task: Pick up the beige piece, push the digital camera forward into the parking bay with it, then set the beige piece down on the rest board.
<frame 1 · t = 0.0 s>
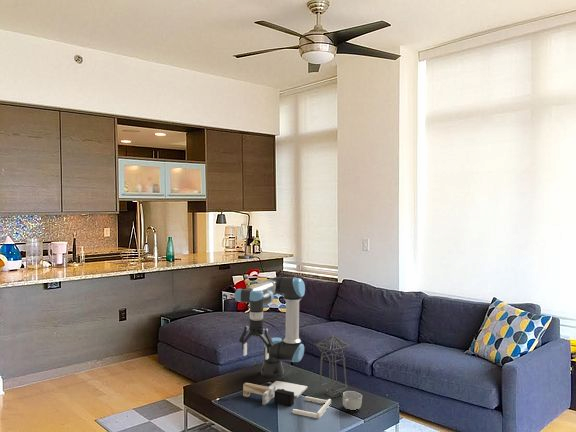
hand: (256, 356, 267), 28 cm above the table, tool pointing down, fingers open, 13 cm apart
rest board: (286, 389, 293), on the table
parking bay: (311, 408, 267), on the table
teacup: (350, 409, 266), on the table
geometric lantern: (332, 394, 287), on the table
beige piece: (256, 397, 281), on the table
digital camera: (284, 403, 273), on the table
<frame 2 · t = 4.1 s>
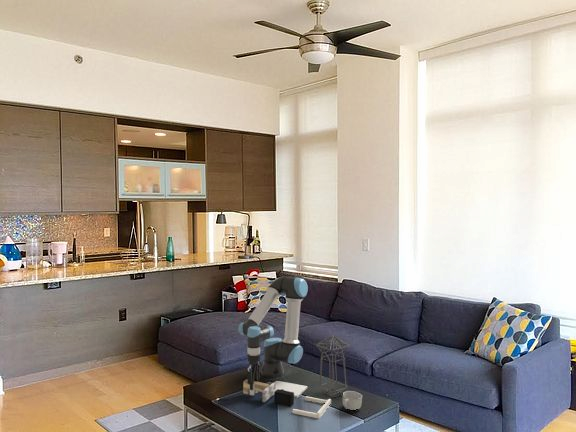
hand: (253, 393, 281), 2 cm above the table, tool pointing down, fingers closed on beige piece, 3 cm apart
beige piece: (256, 394, 281), point 2 cm above the table, touching gripper
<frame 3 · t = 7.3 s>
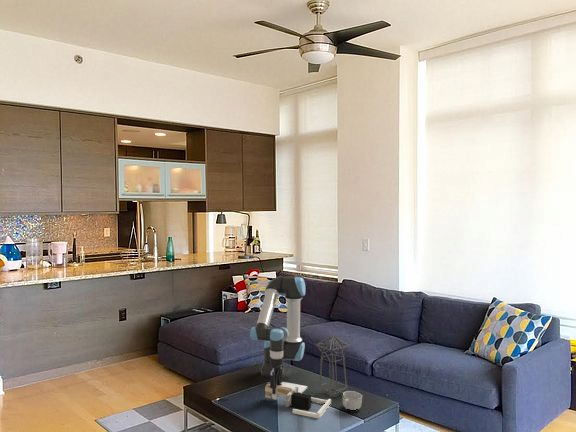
hand: (275, 397, 275), 2 cm above the table, tool pointing down, fingers closed on beige piece, 3 cm apart
beige piece: (279, 399, 275), point 2 cm above the table, touching digital camera, gripper
digital camera: (301, 407, 269), on the table, touching beige piece
everything else where it was.
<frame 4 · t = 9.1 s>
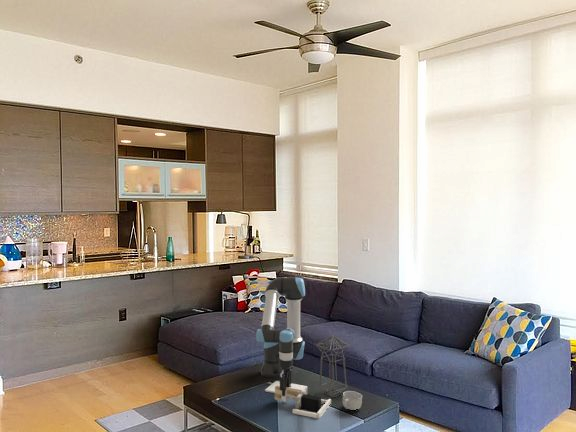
hand: (285, 399, 273), 2 cm above the table, tool pointing down, fingers closed on beige piece, 3 cm apart
beige piece: (288, 401, 272), point 2 cm above the table, touching gripper
digital camera: (311, 409, 266), on the table
everything else where it was.
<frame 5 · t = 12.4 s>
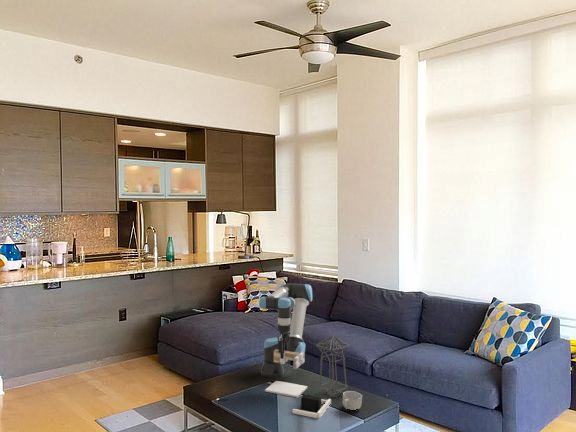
hand: (283, 362, 293), 16 cm above the table, tool pointing down, fingers closed on beige piece, 3 cm apart
beige piece: (286, 363, 292), point 16 cm above the table, touching gripper
when the fingers open (2 cm above the table, at t = 15.3 s): beige piece stays where it is, resting on rest board.
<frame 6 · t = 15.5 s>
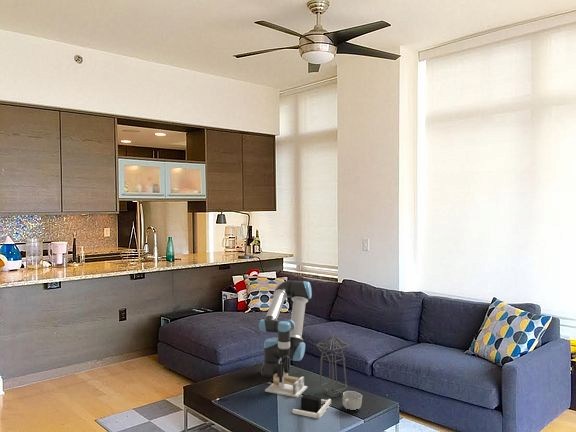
hand: (283, 385, 293), 2 cm above the table, tool pointing down, fingers open, 6 cm apart
beige piece: (286, 387, 293), point 1 cm above the table, touching rest board
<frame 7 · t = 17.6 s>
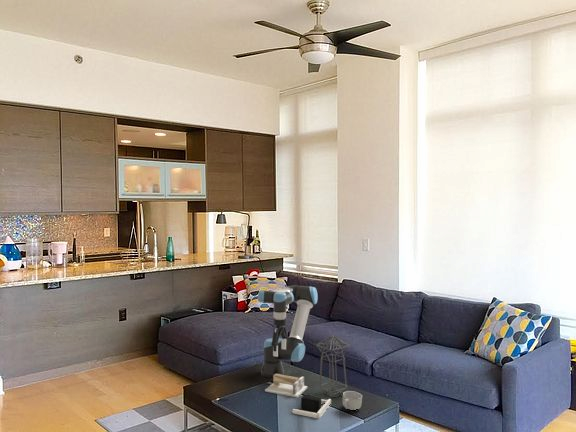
hand: (279, 352, 294), 22 cm above the table, tool pointing down, fingers open, 13 cm apart
nothing on the table moved.
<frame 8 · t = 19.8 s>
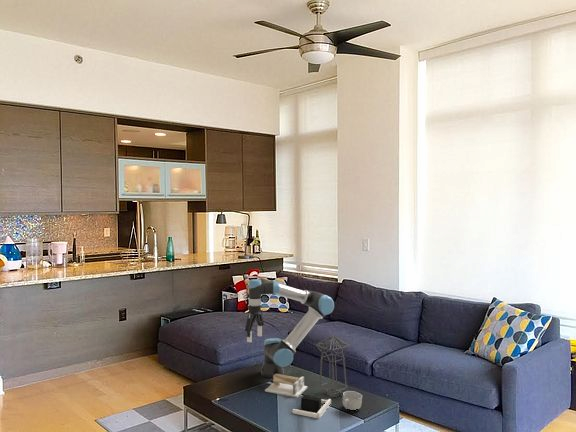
hand: (254, 339, 298), 29 cm above the table, tool pointing down, fingers open, 13 cm apart
at the end: digital camera 1.7 cm from the parking bay (horizontally); digital camera tilted 0°; beige piece touching rest board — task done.
